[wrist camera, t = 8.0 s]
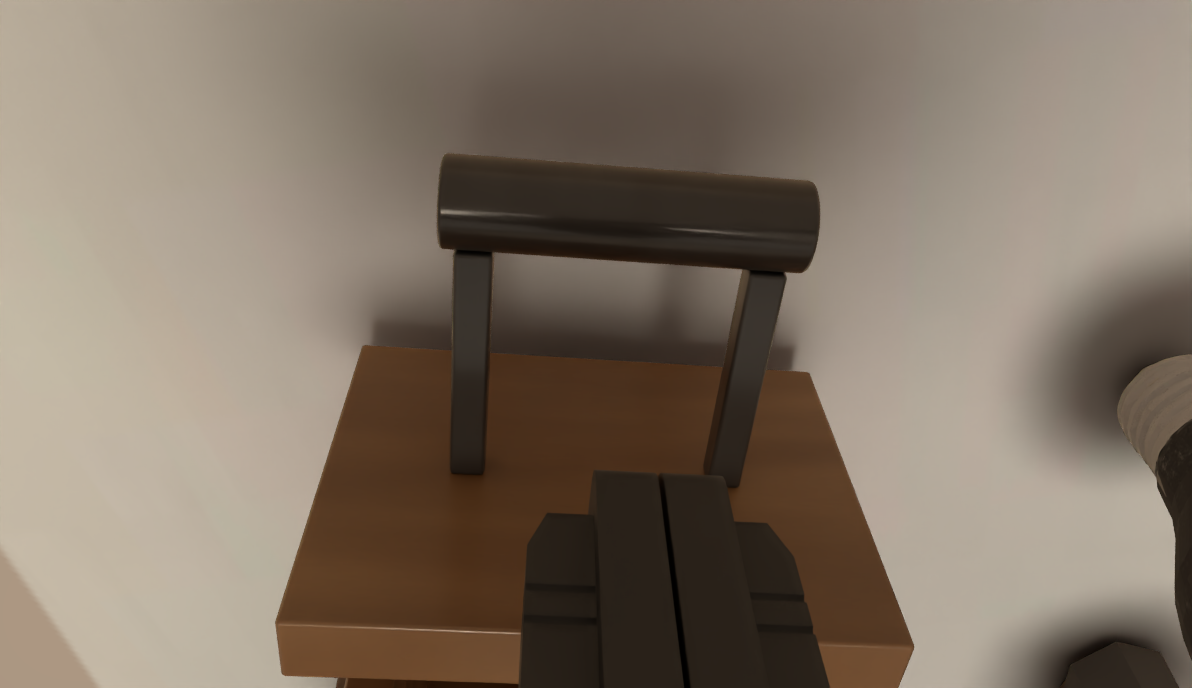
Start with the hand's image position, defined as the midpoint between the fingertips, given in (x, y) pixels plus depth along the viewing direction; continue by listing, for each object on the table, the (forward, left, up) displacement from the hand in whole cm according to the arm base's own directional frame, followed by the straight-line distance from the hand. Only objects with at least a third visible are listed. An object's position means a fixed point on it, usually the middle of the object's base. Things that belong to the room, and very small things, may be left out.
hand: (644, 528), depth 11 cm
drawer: (0, +5, -8) cm, 10 cm away
